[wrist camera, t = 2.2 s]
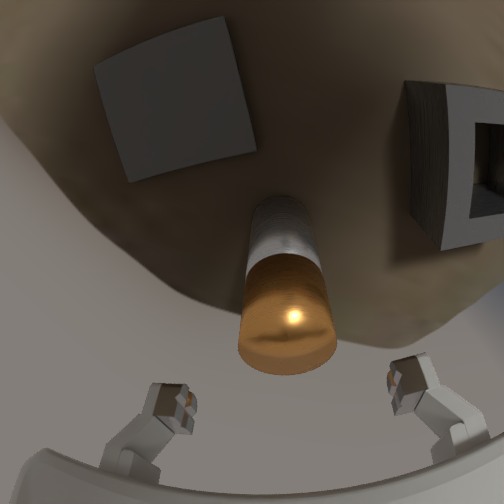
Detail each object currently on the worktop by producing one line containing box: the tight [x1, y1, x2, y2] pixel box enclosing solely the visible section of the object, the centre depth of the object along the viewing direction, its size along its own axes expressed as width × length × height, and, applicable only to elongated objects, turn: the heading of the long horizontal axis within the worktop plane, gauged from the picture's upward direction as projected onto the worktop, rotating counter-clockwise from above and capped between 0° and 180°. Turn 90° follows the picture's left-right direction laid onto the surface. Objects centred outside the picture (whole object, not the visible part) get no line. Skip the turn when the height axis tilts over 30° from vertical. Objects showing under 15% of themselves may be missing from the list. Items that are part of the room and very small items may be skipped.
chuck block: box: [405, 80, 504, 251], centre depth 14 cm, size 10×10×5 cm
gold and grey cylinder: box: [238, 196, 337, 375], centre depth 16 cm, size 4×4×11 cm
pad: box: [93, 16, 257, 183], centre depth 15 cm, size 9×9×1 cm
